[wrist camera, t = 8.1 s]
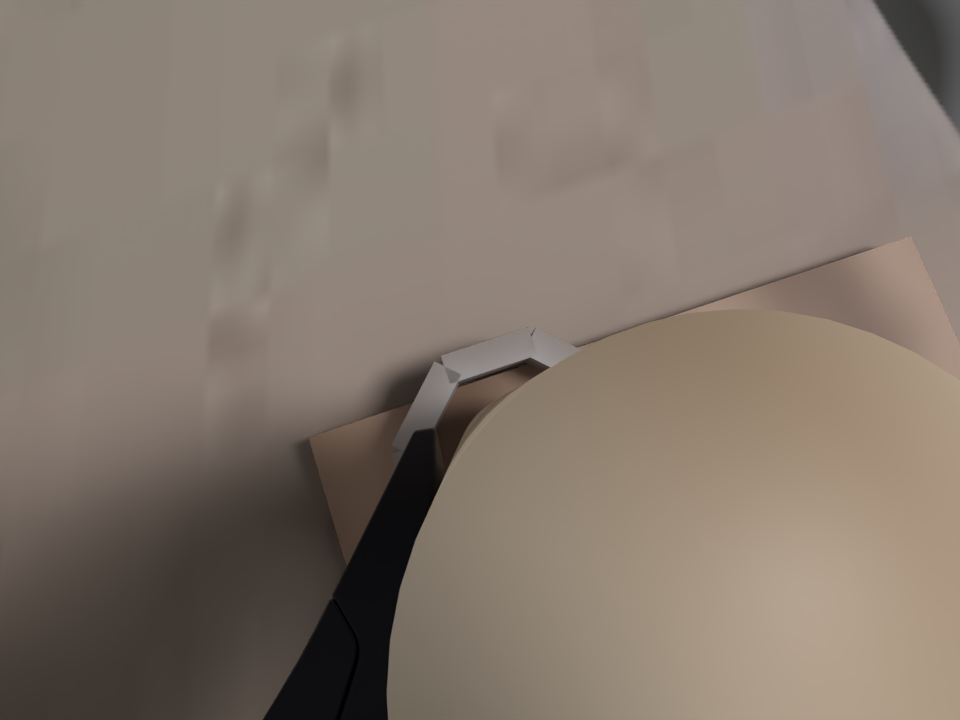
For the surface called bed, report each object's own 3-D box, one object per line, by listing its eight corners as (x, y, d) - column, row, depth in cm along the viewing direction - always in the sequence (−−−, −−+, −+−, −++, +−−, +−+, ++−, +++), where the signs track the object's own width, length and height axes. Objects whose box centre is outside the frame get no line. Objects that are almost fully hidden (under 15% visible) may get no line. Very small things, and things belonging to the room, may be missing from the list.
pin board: (448, 874, 16) (444, 965, 14) (311, 408, 18) (283, 408, 15) (1056, 638, 18) (1161, 678, 15) (873, 222, 19) (937, 191, 17)
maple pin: (517, 566, 14) (742, 1341, 2) (428, 451, 15) (233, 621, 3) (625, 474, 15) (1301, 741, 3) (537, 365, 15) (788, 175, 3)
